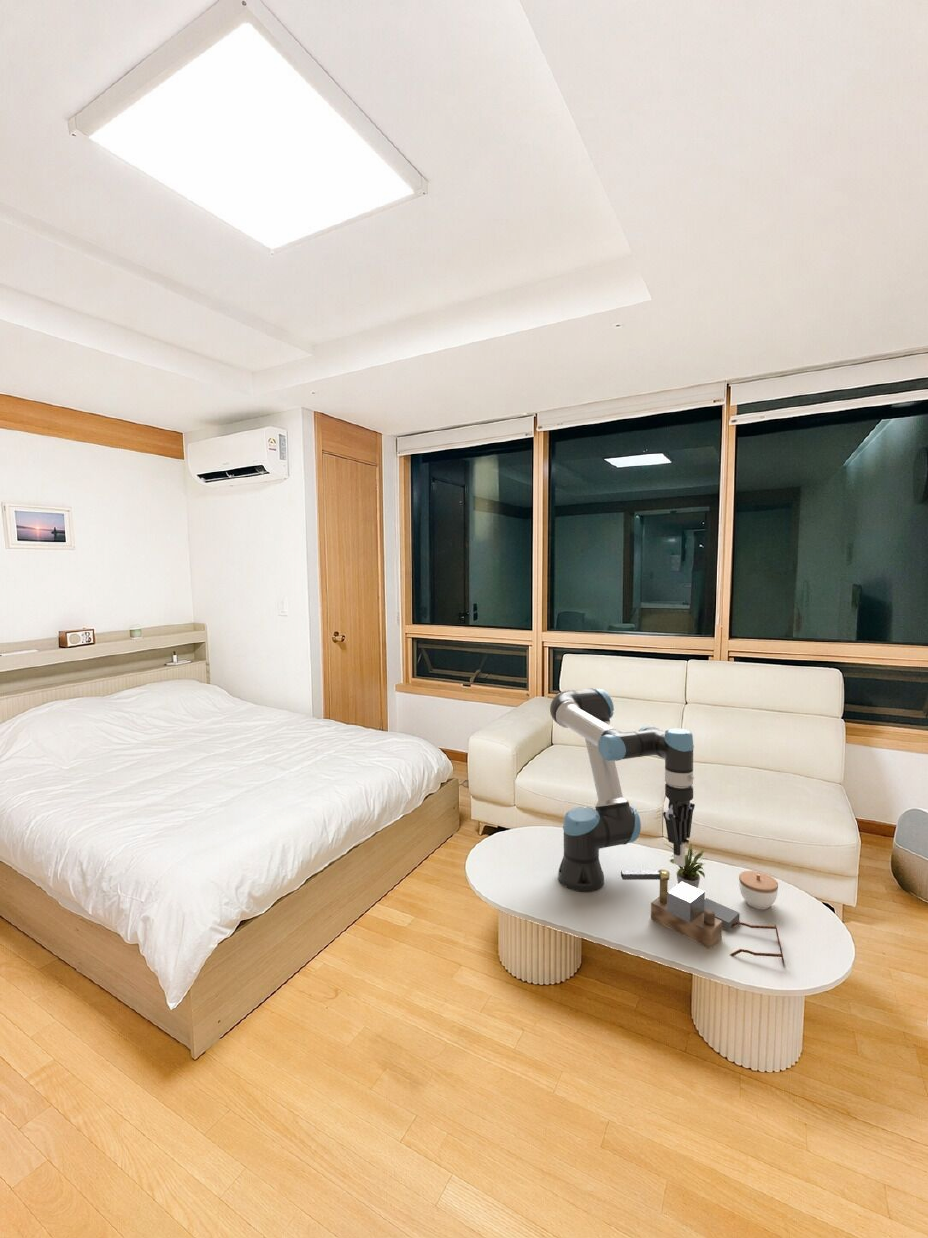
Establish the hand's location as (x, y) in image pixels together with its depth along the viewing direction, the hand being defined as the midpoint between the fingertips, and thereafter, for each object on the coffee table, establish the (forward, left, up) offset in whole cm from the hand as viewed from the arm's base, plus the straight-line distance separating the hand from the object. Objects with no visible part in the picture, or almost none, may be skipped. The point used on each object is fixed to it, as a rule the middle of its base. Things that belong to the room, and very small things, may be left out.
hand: (679, 864), depth 159 cm
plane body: (+1, +2, -20) cm, 20 cm away
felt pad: (+5, +14, -20) cm, 24 cm away
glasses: (+18, +9, -20) cm, 28 cm away
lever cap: (+1, +2, -15) cm, 15 cm away
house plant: (-8, +18, -20) cm, 28 cm away
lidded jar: (+10, +30, -20) cm, 37 cm away
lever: (-9, -2, -7) cm, 12 cm away
